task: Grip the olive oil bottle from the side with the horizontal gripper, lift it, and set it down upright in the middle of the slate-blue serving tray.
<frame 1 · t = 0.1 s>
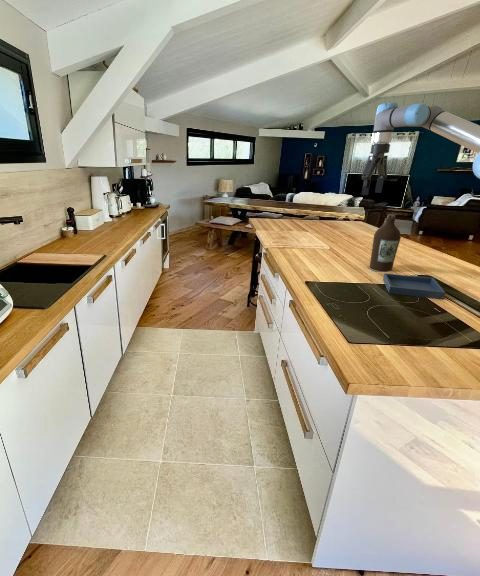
hand: (371, 193, 146), 34 cm above the table, tool pointing down, fingers open, 13 cm apart
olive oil: (380, 268, 150), on the table
tray: (410, 288, 125), on the table
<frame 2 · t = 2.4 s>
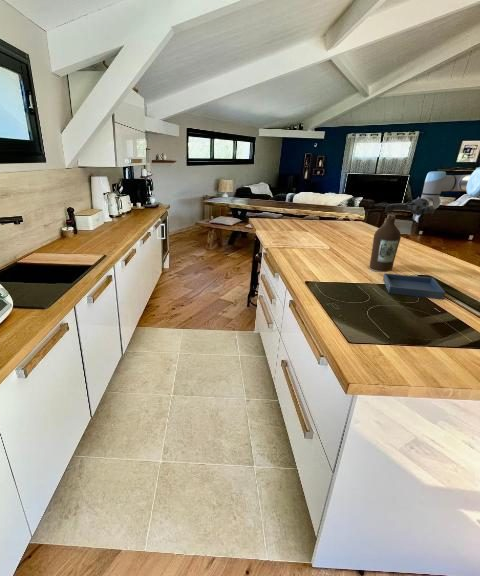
hand: (401, 210, 145), 26 cm above the table, tool horizontal, fingers open, 13 cm apart
nothing on the table moved.
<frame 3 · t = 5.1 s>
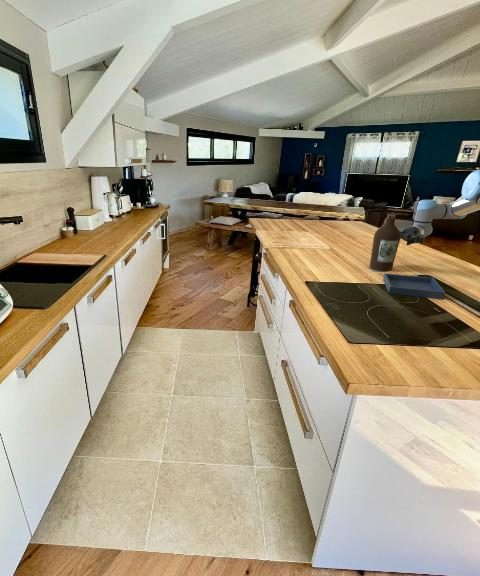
hand: (392, 239, 148), 13 cm above the table, tool horizontal, fingers open, 13 cm apart
nothing on the table moved.
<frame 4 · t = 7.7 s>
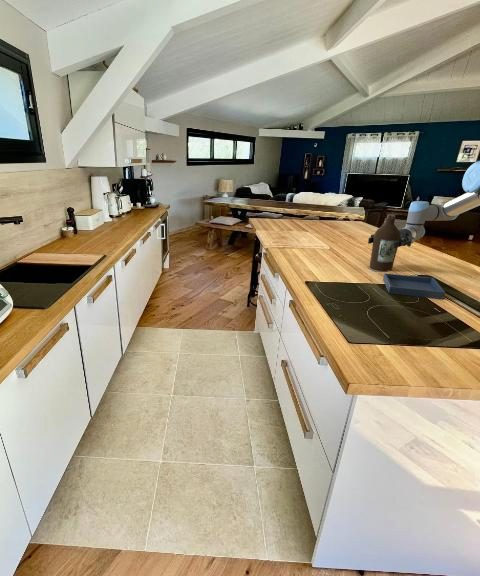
hand: (381, 242, 143), 13 cm above the table, tool horizontal, fingers closed on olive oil, 11 cm apart
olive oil: (380, 268, 150), on the table, touching gripper
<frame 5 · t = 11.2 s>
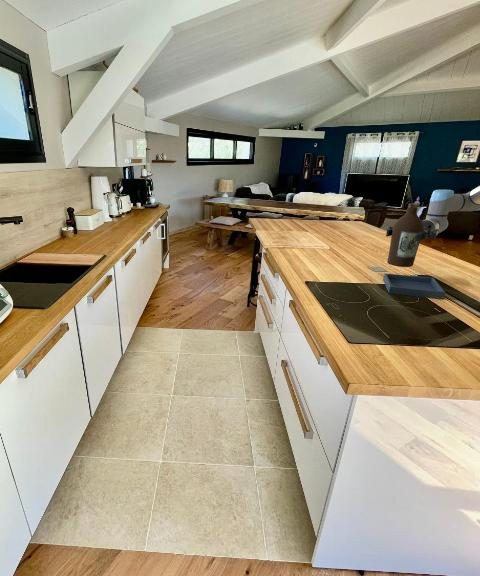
hand: (402, 235, 127), 20 cm above the table, tool horizontal, fingers closed on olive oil, 11 cm apart
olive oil: (399, 264, 134), point 7 cm above the table, touching gripper
when the fingers open (14 cm above the table, at t = 15.0 s): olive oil stays where it is, resting on tray.
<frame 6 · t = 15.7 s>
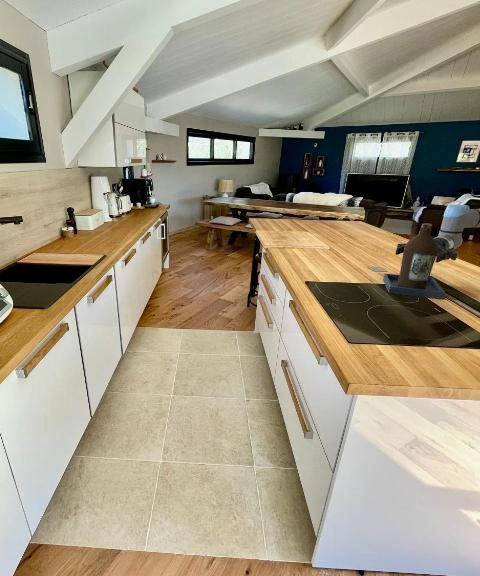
hand: (416, 255, 118), 15 cm above the table, tool horizontal, fingers open, 13 cm apart
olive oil: (411, 287, 125), point 1 cm above the table, touching tray
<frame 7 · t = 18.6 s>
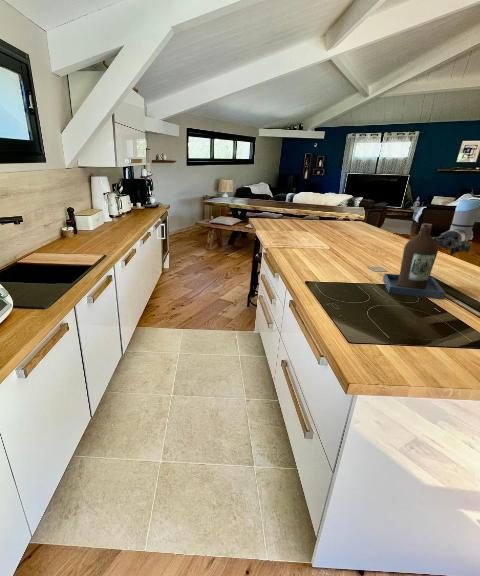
hand: (431, 247, 125), 15 cm above the table, tool horizontal, fingers open, 13 cm apart
nothing on the table moved.
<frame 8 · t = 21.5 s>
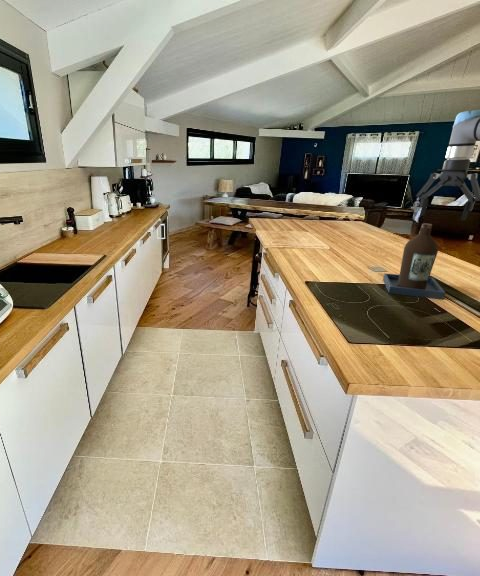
hand: (441, 217, 122), 27 cm above the table, tool pointing down, fingers open, 13 cm apart
nothing on the table moved.
at the end: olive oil inside the target area in the tray (0.1 cm from its centre), point 0.6 cm above the tray's base; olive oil tilted 0°; the gripper is holding nothing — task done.
